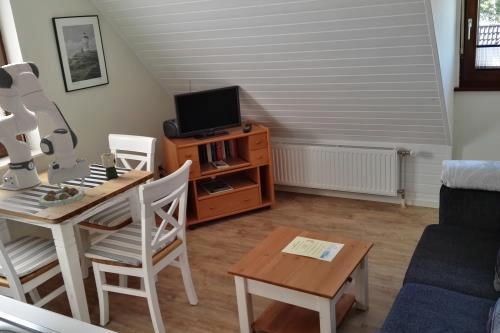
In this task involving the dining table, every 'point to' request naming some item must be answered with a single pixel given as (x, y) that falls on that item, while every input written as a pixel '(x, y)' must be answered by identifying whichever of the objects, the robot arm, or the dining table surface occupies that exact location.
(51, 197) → the seated bead
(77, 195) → the groove tray
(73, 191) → the bead
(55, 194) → the seated bead
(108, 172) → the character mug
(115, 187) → the dining table surface
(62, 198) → the seated bead
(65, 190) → the bead
